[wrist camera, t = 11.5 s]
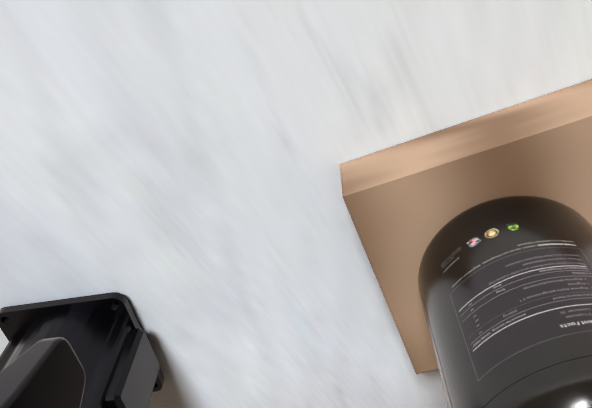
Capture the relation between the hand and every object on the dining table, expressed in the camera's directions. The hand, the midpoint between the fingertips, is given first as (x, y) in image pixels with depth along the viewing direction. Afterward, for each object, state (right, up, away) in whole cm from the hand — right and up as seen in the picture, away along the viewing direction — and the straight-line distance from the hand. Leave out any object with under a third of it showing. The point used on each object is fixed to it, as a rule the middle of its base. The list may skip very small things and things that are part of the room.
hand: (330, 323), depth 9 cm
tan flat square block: (+8, +1, +14) cm, 16 cm away
